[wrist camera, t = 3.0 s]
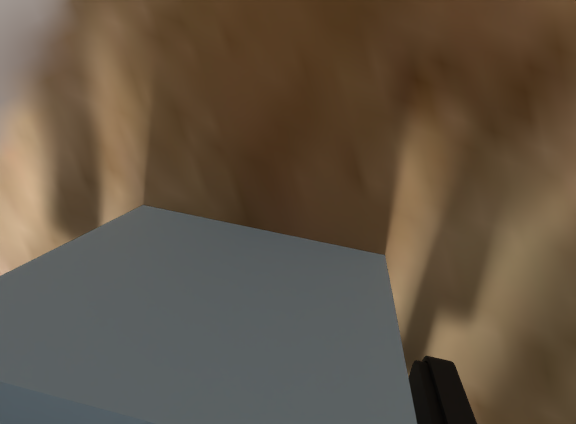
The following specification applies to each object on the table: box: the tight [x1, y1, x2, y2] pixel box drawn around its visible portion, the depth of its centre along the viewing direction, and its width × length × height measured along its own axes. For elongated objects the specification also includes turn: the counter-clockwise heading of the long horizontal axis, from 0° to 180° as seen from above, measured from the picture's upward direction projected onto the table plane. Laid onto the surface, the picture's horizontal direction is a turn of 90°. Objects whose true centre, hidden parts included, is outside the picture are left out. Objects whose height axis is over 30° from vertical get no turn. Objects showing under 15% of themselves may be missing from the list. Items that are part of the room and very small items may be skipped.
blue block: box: [0, 205, 417, 424], centre depth 8 cm, size 6×6×6 cm
